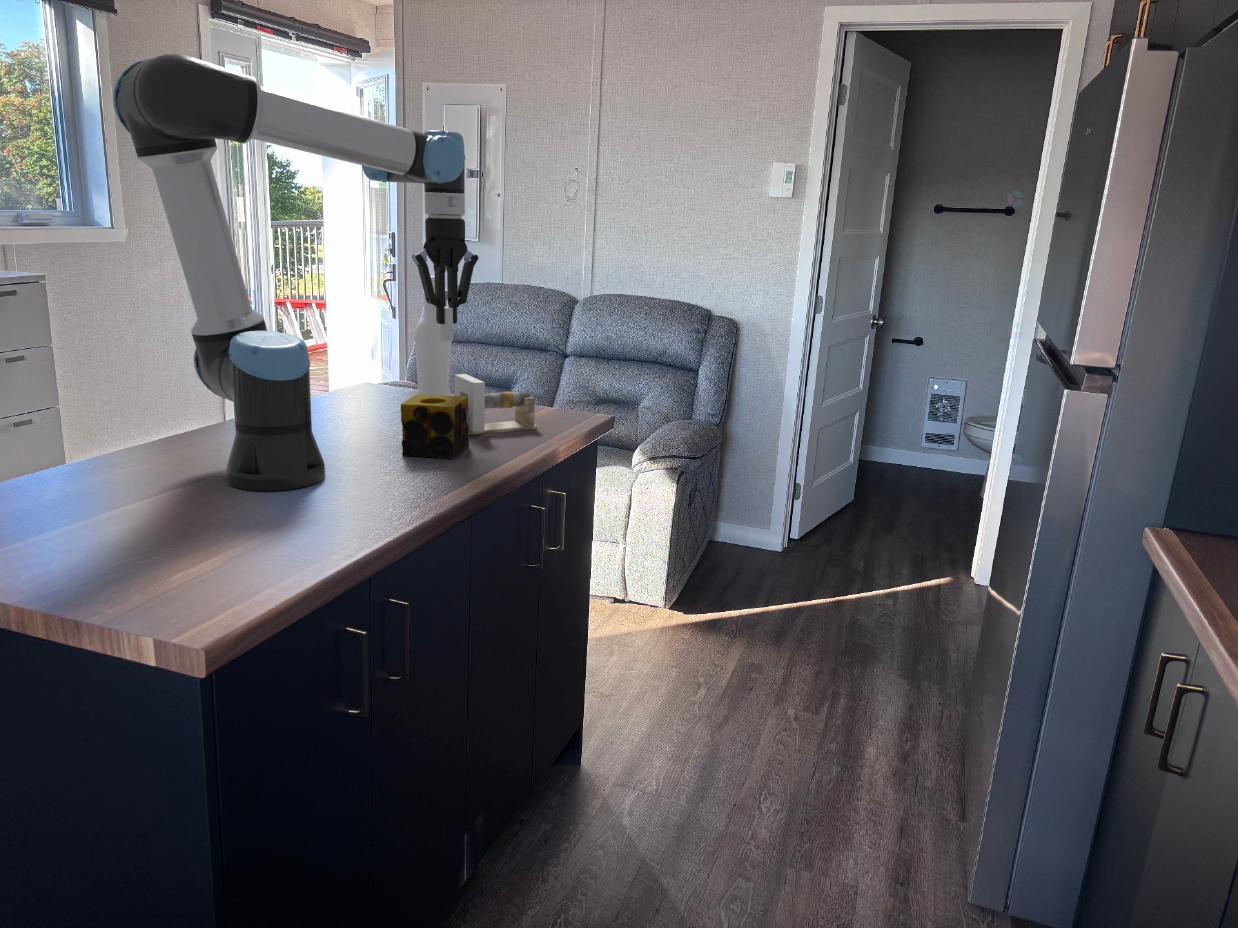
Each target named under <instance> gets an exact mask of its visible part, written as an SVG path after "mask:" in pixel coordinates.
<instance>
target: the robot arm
mask: <svg viewBox="0 0 1238 928" xmlns="http://www.w3.org/2000/svg"><path fill="white" fill-rule="evenodd" d="M112 92H113V93H112V103H113V109H114V111H115V115H116V117H117V119H118V120H119V122H120V123H121V125H122V127H123V128H124V129H125V130H126V131H127V132H128V133H129V134H130V137H131V140H132V143H133V147H134V150H135V152H136V157H137V159H138V160H139V161H140V162H142V163H144V164H145V165H146V166H148V167H149V168H150V169H151V170H152V173H153V176H154V179H155V182H156V183H155V184H156V186H157V189H158V192H159V196H160V200H161V203H162V206H163V209H164V212H165V215H166V218H167V219H166V220H167V222H168V226H169V229H170V232H171V237H172V239H173V242H174V246H175V249H176V252H177V255H178V258H179V262H180V265H181V268H182V272H183V275H184V279H185V282H186V285H187V289H188V292H189V295H190V299H191V301H192V305H193V308H194V312H195V315H196V322H195V323H194V324H193V327H192V328H191V329H190V331H191V336H192V339H193V341H194V345H195V349H194V353H193V365H194V366H193V367H194V369H195V372H196V375H197V377H198V378H199V380H200V381H201V383H202V384H203V385H204V386H205V387H206V388H207V390H209V391H211V393H213V394H214V395H216V396H219V397H220V398H221V399H222V398H223V399H224V400H229V401H231V402H232V403H233V415H234V426H235V436H234V439H233V443H232V446H231V449H230V450H231V451H230V454H229V457H228V461H227V465H226V471H225V472H226V482H227V484H228V485H229V486H232V487H234V488H236V489H237V488H238V489H242V490H245V491H247V490H248V491H259V492H273V491H274V492H275V491H276V492H277V491H287V490H296V489H301V488H305V487H309V486H313V485H314V484H317V483H320V482H322V481H323V480H324V479H325V477H326V468H325V467H326V465H325V461H324V459H323V456H322V453H321V451H320V448H319V446H318V443H317V441H316V438H315V435H314V433H313V428H312V427H313V424H312V402H311V401H312V400H311V399H312V398H311V375H310V371H311V370H310V369H311V368H310V367H311V359H310V356H309V351H308V350H309V349H308V345H307V344H306V342H305V341H304V340H303V339H302V338H301V337H299V336H296V335H295V334H294V335H293V334H291V333H285V332H280V331H274V330H268V328H267V324H266V322H265V321H266V320H265V318H264V316H263V315H262V314H261V313H259V312H257V311H256V310H254V309H253V308H252V306H251V305H252V304H251V302H250V299H249V296H248V291H247V288H246V285H245V280H244V278H243V274H242V269H241V267H240V261H239V258H238V256H237V252H236V248H235V245H234V241H233V238H232V234H231V233H232V232H231V230H230V226H229V223H228V219H227V215H226V212H225V207H224V205H223V202H222V198H221V194H220V190H219V187H218V183H217V180H216V175H215V173H214V169H213V165H212V158H213V156H214V155H215V154H216V152H217V150H218V146H217V142H216V140H225V141H230V142H235V143H240V144H246V143H249V142H250V141H251V140H256V141H259V142H264V143H269V144H273V145H277V146H281V147H284V148H285V147H286V148H288V149H293V150H297V151H301V152H305V153H309V154H314V155H319V156H322V157H326V158H330V159H335V160H338V161H342V162H346V163H347V162H348V163H351V164H354V165H359V166H361V168H362V172H363V174H364V175H365V177H366V178H367V179H369V180H370V181H372V182H373V181H374V182H382V183H401V184H402V183H410V184H423V186H424V214H425V215H427V217H426V218H425V220H424V230H425V231H424V232H425V242H424V244H423V249H422V250H420V251H419V252H418V253H413V254H412V256H411V258H412V260H413V262H414V263H415V265H416V266H417V269H418V273H419V277H420V281H421V286H422V289H423V293H424V294H425V298H426V301H427V303H429V304H432V305H434V306H435V307H436V321H437V323H438V324H441V340H443V341H446V342H449V341H451V342H454V324H457V322H458V308H459V306H462V305H464V304H466V303H467V300H468V296H469V293H470V292H469V291H470V288H471V287H470V286H471V281H472V279H473V278H472V277H473V272H474V268H475V266H476V264H477V262H478V260H479V258H480V257H479V255H478V254H474V253H472V252H471V251H470V250H468V245H467V244H466V220H465V219H464V218H463V216H465V214H466V201H465V199H466V198H465V197H466V196H465V192H466V191H465V190H466V189H465V188H466V187H465V186H466V185H465V181H466V180H465V175H466V174H465V167H466V166H465V160H466V154H465V144H464V137H463V135H462V134H461V133H459V132H457V131H451V130H432V129H430V130H425V132H423V133H422V132H419V131H416V130H411V129H409V128H405V127H403V126H398V125H395V124H392V123H388V122H385V121H384V122H383V121H381V120H378V119H375V118H370V117H367V116H364V115H360V114H357V113H353V112H349V111H346V110H343V109H340V108H335V107H333V106H329V105H325V104H322V103H319V102H315V101H312V100H308V99H305V98H302V97H298V96H296V95H295V96H294V95H291V94H287V93H284V92H280V91H277V90H273V89H269V88H266V87H263V86H261V85H260V84H259V83H258V81H257V80H256V78H255V77H254V76H250V75H248V74H244V73H240V72H238V71H234V70H231V69H228V68H226V67H223V66H220V65H217V64H213V63H211V62H209V61H206V60H205V61H204V60H202V59H199V58H196V57H193V56H188V55H185V54H179V53H166V54H162V55H158V56H156V57H153V58H148V59H145V60H139V61H136V62H135V63H133V64H131V65H130V66H128V67H127V68H126V69H125V70H123V72H122V73H121V74H120V76H119V77H118V78H117V80H116V83H115V84H114V87H113V91H112ZM428 259H429V260H430V261H431V263H432V264H433V271H434V276H435V293H434V289H433V285H432V281H431V277H430V276H431V273H430V269H429V266H428V263H427V262H428ZM462 259H463V266H462V271H461V276H460V279H459V281H458V272H459V264H460V263H461V261H462ZM446 277H447V278H446ZM446 281H447V282H446ZM446 284H447V285H446ZM458 284H459V285H458ZM446 287H447V294H446ZM424 294H423V295H424ZM446 295H447V305H448V306H446Z"/></svg>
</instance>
